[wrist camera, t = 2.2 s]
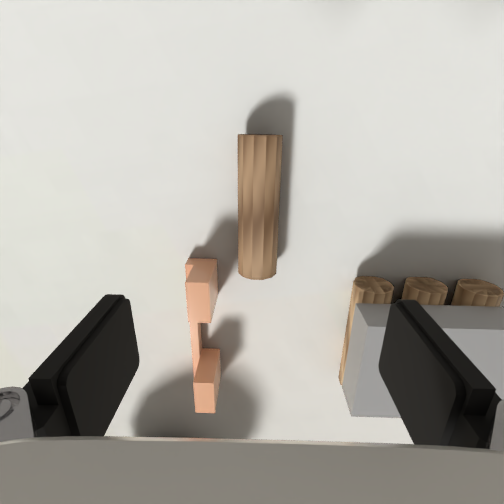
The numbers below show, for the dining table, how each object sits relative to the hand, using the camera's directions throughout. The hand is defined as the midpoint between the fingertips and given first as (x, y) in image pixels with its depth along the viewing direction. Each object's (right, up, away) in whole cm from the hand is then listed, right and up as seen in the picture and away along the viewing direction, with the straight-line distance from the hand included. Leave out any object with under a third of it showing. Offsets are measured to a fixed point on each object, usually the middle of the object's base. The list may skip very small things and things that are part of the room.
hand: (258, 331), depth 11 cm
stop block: (-5, -5, +22) cm, 23 cm away
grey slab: (+16, -7, +19) cm, 25 cm away
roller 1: (0, +7, +16) cm, 17 cm away
